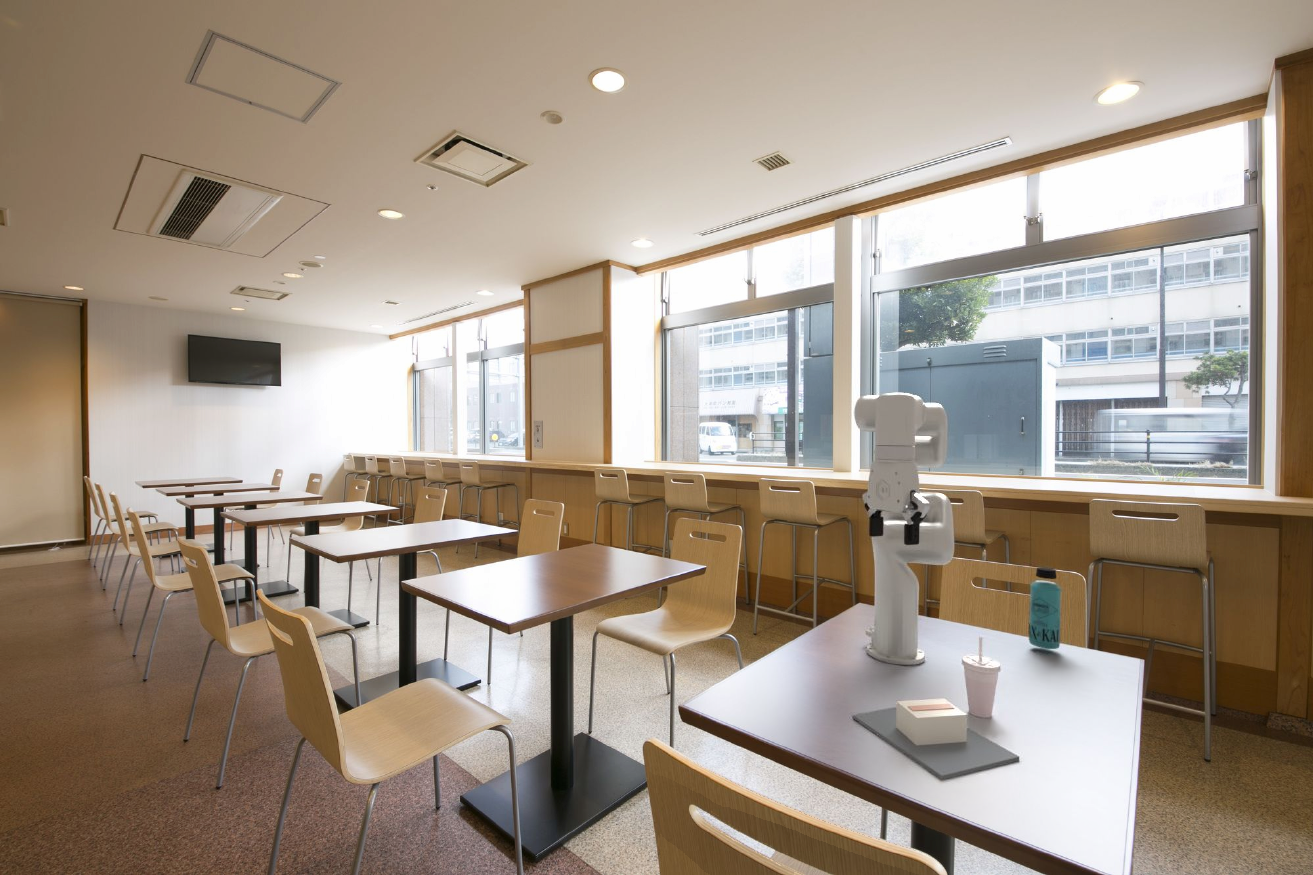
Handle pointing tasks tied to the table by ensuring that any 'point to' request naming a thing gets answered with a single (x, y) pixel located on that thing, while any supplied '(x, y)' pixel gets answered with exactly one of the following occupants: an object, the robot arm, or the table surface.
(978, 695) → the smoothie
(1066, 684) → the table surface
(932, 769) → the mat
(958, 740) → the card box
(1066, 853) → the table surface
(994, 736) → the table surface
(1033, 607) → the beverage bottle
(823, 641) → the table surface
